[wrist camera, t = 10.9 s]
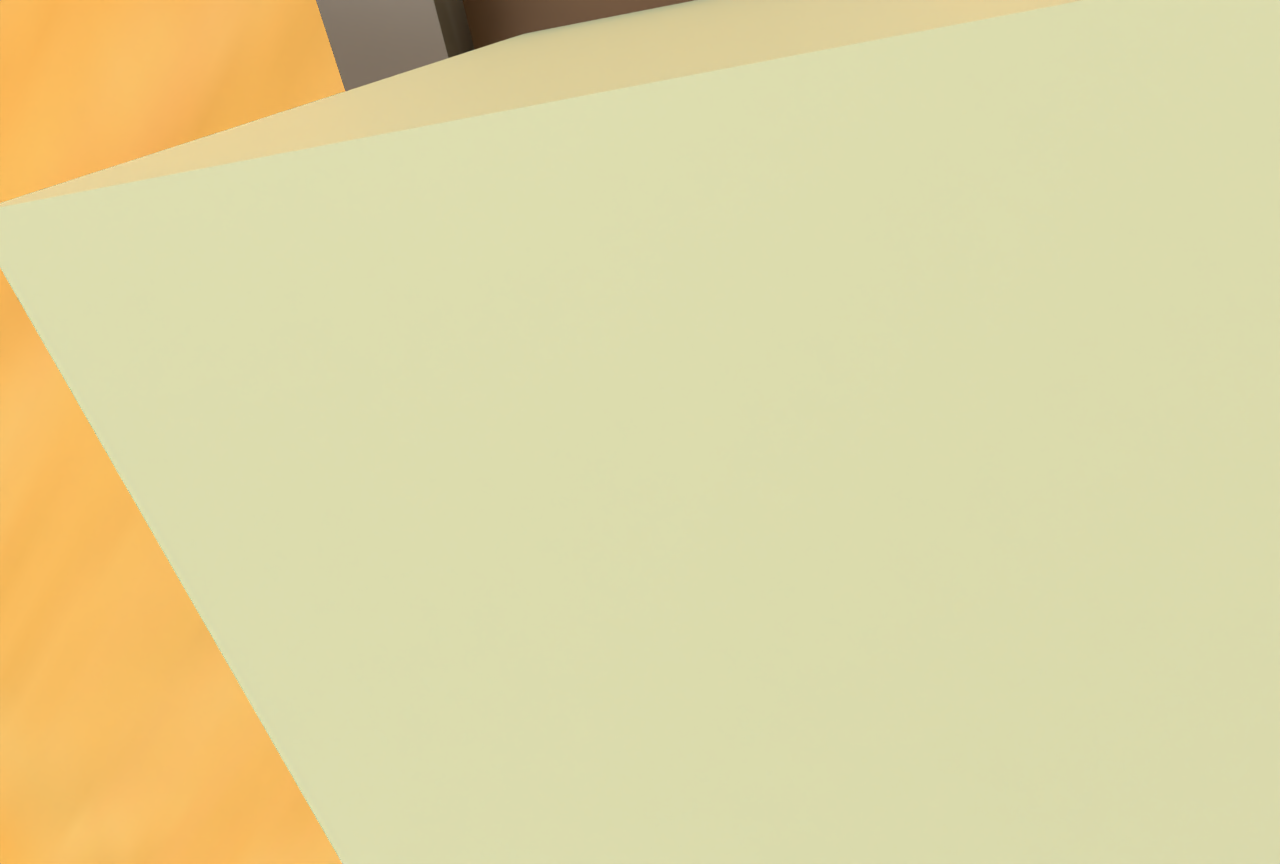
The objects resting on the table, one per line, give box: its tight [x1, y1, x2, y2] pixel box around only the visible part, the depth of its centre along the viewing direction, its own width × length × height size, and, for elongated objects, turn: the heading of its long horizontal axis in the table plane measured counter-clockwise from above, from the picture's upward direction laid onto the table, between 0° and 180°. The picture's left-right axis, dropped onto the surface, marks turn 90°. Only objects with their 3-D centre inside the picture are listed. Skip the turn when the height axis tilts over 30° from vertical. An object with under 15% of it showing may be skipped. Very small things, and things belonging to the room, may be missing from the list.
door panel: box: [0, 0, 1280, 864], centre depth 10 cm, size 16×3×12 cm, turn 10°
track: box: [316, 0, 694, 91], centre depth 16 cm, size 26×8×4 cm, turn 10°
